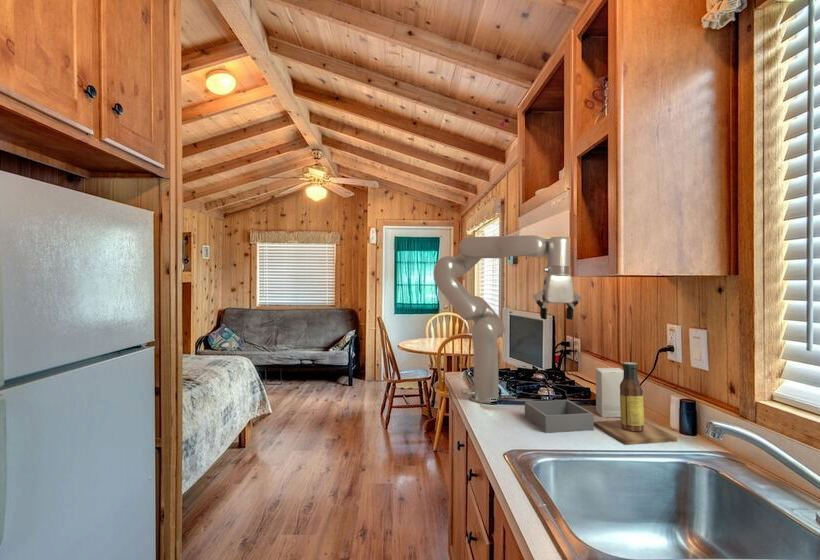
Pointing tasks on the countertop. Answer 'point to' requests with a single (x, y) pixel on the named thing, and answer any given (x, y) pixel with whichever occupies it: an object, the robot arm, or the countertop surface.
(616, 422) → the board
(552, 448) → the countertop surface
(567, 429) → the bin
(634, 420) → the sauce bottle
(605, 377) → the skincare box
